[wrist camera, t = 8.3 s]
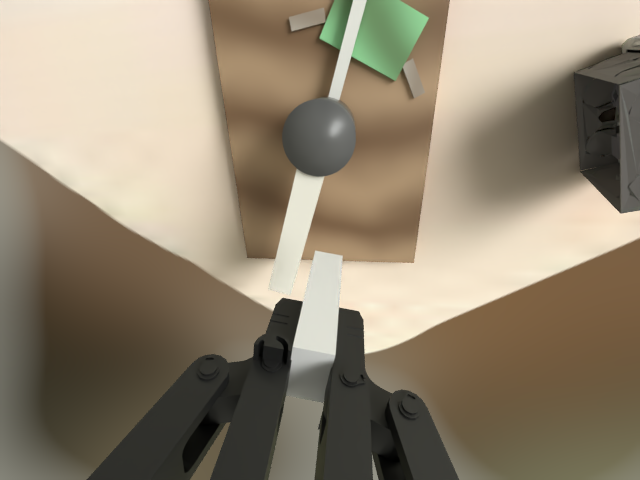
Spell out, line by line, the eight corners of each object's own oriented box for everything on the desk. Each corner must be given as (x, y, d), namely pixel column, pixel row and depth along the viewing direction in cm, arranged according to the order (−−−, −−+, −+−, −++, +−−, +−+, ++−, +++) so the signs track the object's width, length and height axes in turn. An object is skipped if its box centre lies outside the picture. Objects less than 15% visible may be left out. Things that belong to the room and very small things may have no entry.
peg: (334, -38, 19) (326, -88, 13) (400, -16, 19) (419, -57, 14) (270, 249, 29) (251, 286, 23) (314, 262, 29) (305, 302, 23)
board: (205, -66, 20) (194, -77, 18) (456, -85, 18) (465, -100, 17) (251, 251, 31) (246, 259, 29) (411, 256, 29) (414, 265, 28)
